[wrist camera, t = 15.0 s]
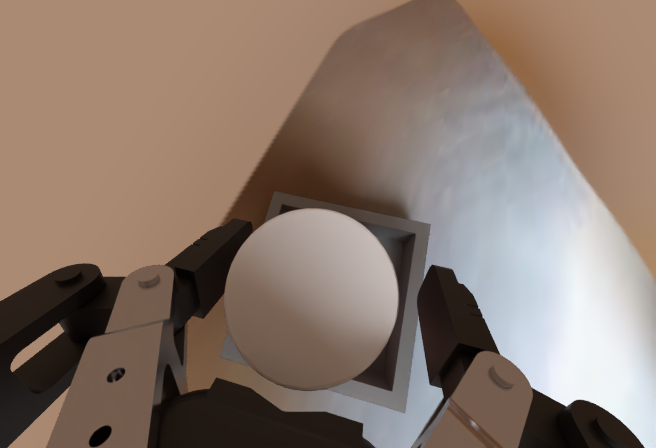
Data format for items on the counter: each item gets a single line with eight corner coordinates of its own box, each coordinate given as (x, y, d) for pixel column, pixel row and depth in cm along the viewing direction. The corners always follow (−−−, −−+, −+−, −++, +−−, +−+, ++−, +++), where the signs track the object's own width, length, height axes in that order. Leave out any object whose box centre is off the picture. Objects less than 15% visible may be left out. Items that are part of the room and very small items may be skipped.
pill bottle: (361, 351, 16) (402, 481, 5) (275, 322, 16) (151, 381, 6) (382, 260, 17) (448, 212, 6) (302, 238, 18) (245, 162, 7)
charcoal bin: (413, 236, 18) (430, 224, 15) (391, 386, 16) (405, 413, 12) (285, 208, 20) (274, 191, 16) (243, 343, 17) (219, 357, 13)
